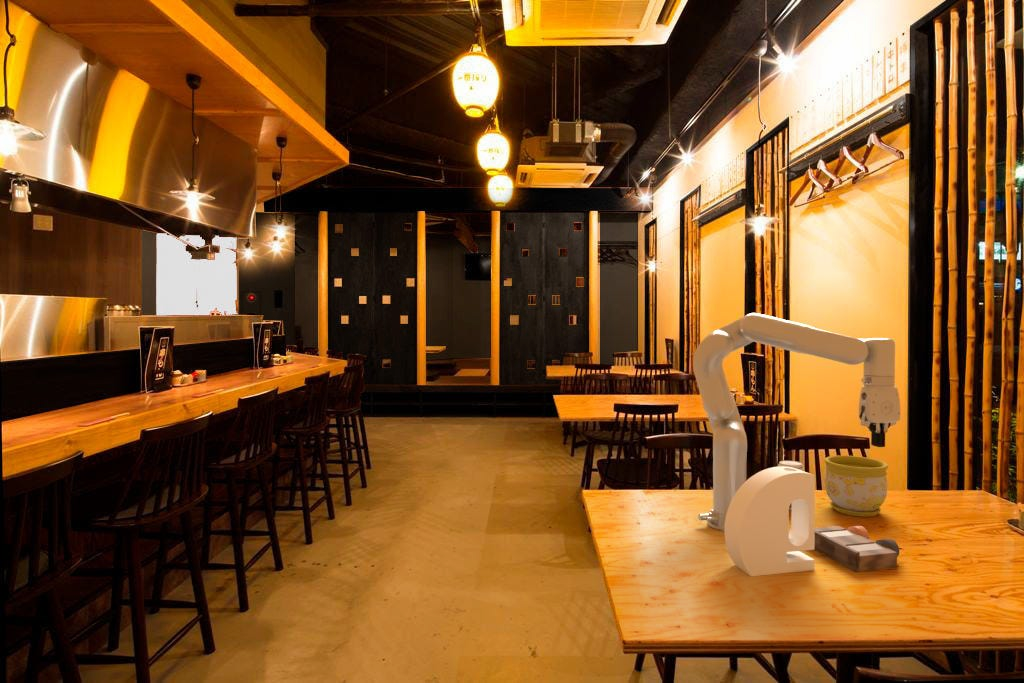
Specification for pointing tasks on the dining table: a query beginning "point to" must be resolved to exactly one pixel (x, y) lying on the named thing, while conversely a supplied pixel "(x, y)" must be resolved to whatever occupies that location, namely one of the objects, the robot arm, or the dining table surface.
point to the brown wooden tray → (853, 551)
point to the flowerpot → (856, 484)
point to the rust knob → (849, 532)
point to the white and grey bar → (878, 546)
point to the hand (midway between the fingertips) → (878, 446)
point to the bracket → (772, 522)
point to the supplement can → (794, 465)
